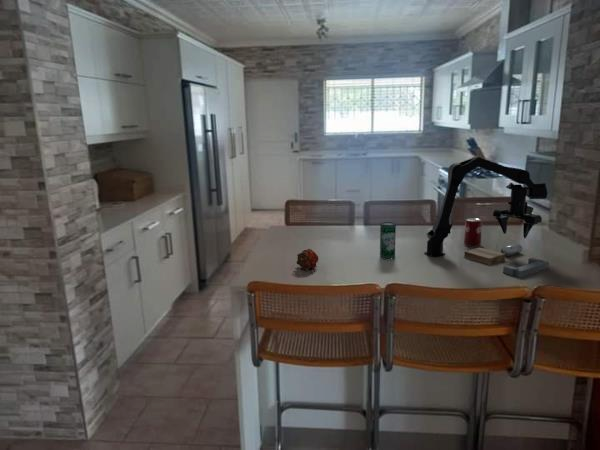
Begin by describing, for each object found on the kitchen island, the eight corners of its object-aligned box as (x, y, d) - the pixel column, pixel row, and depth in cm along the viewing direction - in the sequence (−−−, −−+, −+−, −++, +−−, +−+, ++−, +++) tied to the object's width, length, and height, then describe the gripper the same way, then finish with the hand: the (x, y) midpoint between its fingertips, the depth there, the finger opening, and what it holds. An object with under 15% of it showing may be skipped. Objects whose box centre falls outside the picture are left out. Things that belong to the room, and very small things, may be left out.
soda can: (462, 246, 205) (464, 220, 202) (465, 242, 211) (466, 217, 209) (479, 247, 202) (481, 221, 199) (481, 243, 208) (483, 218, 205)
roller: (510, 255, 187) (507, 246, 187) (502, 257, 190) (499, 248, 191) (523, 251, 191) (520, 242, 192) (515, 253, 194) (512, 245, 195)
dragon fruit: (303, 277, 176) (307, 271, 188) (320, 264, 174) (324, 259, 186) (290, 259, 176) (296, 254, 188) (308, 247, 174) (312, 243, 186)
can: (384, 260, 188) (384, 225, 185) (377, 256, 194) (378, 222, 191) (397, 258, 190) (397, 224, 186) (390, 254, 196) (391, 221, 192)
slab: (488, 265, 179) (489, 258, 179) (464, 258, 189) (464, 251, 189) (504, 261, 184) (504, 254, 184) (479, 253, 194) (480, 247, 194)
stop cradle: (520, 277, 164) (520, 271, 163) (503, 272, 170) (503, 266, 169) (548, 268, 173) (548, 262, 172) (530, 263, 179) (531, 257, 178)
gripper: (551, 200, 181) (547, 237, 185) (509, 194, 197) (506, 228, 200) (535, 203, 176) (531, 241, 179) (493, 197, 191) (490, 232, 195)
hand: (514, 235), depth 189 cm, fingers open, 9 cm apart
